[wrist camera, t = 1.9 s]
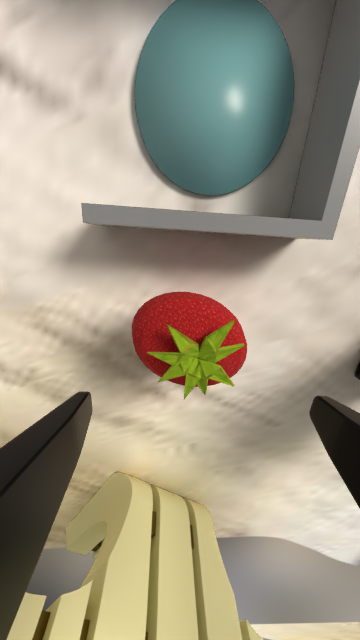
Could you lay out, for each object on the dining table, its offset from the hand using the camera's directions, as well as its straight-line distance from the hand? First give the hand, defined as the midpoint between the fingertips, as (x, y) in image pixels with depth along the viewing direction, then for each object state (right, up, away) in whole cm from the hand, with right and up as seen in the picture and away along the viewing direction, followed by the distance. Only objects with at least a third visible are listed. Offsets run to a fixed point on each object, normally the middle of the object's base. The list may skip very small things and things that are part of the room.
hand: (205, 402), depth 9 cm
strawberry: (-1, +4, +10) cm, 11 cm away
